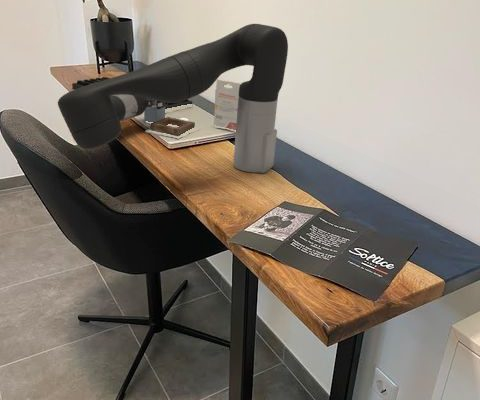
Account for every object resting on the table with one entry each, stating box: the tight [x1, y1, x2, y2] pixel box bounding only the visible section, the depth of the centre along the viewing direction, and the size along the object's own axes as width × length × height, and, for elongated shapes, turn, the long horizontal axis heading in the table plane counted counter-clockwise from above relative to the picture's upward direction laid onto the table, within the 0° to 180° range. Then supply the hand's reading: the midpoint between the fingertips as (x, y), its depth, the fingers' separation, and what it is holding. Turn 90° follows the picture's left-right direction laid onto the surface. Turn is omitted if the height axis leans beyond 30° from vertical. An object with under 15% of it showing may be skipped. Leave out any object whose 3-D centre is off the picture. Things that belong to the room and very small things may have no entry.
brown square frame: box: [150, 116, 196, 136], centre depth 143 cm, size 9×9×2 cm
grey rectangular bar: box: [143, 107, 166, 122], centre depth 147 cm, size 4×4×14 cm
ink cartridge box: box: [213, 79, 241, 130], centre depth 147 cm, size 9×5×15 cm, turn 62°
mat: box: [144, 128, 180, 140], centre depth 143 cm, size 11×12×1 cm
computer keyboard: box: [71, 76, 193, 109], centre depth 175 cm, size 45×16×4 cm, turn 54°
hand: (159, 95), depth 148 cm, fingers open, 6 cm apart
